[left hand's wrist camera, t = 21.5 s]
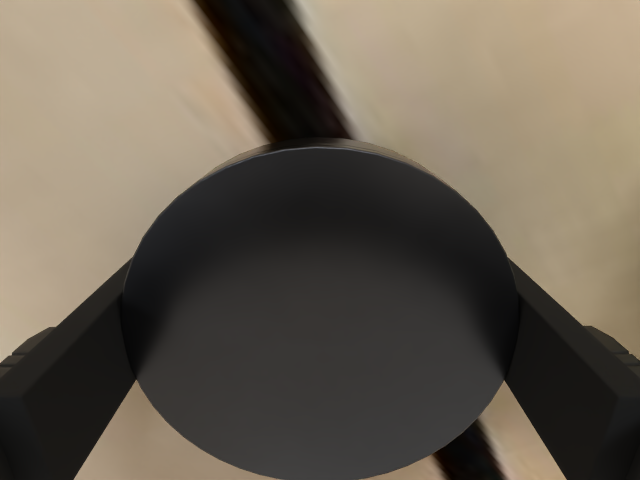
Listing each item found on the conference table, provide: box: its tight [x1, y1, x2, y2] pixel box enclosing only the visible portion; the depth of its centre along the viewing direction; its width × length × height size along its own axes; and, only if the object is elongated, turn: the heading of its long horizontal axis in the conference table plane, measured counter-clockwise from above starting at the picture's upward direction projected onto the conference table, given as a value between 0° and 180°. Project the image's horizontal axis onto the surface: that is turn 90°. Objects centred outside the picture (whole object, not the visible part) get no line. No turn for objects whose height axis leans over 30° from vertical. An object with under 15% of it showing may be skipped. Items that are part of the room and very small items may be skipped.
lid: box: [121, 137, 519, 480], centre depth 11 cm, size 11×11×2 cm
